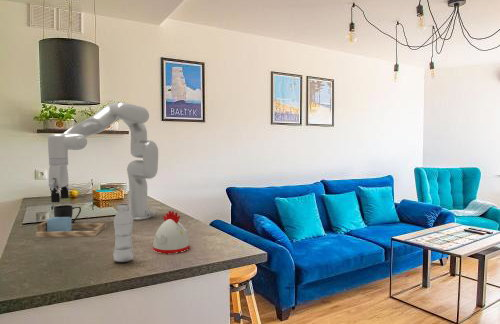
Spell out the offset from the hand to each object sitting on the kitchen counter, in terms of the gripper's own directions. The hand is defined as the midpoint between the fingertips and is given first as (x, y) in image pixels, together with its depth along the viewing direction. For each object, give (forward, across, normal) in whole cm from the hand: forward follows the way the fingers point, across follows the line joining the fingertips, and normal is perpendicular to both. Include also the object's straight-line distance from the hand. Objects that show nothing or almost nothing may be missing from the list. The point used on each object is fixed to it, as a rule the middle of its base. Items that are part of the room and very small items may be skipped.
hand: (60, 200), depth 160 cm
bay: (+16, +1, +5) cm, 16 cm away
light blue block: (+14, +1, -1) cm, 14 cm away
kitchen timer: (+16, +26, +51) cm, 59 cm away
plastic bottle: (+15, +40, +36) cm, 56 cm away
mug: (+16, -17, -4) cm, 24 cm away
